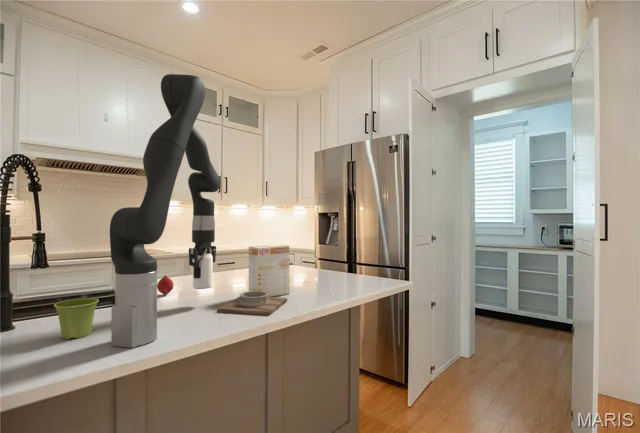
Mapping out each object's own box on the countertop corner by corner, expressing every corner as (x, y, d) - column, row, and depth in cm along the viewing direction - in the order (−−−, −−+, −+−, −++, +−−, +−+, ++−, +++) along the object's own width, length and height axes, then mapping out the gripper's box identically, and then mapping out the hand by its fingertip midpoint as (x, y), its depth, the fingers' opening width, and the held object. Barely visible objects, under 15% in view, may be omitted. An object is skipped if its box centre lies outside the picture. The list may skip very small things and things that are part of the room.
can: (215, 285, 119) (215, 252, 119) (207, 289, 113) (208, 253, 113) (197, 285, 120) (198, 252, 120) (189, 288, 113) (189, 253, 114)
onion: (153, 296, 129) (153, 275, 129) (164, 293, 135) (164, 273, 135) (166, 297, 127) (166, 276, 127) (176, 294, 133) (176, 274, 133)
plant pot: (83, 327, 93) (83, 296, 93) (106, 331, 89) (106, 299, 89) (45, 339, 84) (45, 304, 84) (69, 344, 81) (69, 308, 81)
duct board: (269, 315, 104) (269, 302, 104) (217, 312, 108) (217, 299, 108) (287, 301, 122) (287, 289, 122) (241, 298, 125) (241, 287, 125)
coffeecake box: (281, 290, 139) (281, 244, 139) (290, 294, 133) (290, 245, 133) (247, 295, 130) (247, 246, 130) (255, 299, 124) (255, 247, 124)
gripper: (202, 229, 109) (201, 280, 108) (223, 228, 123) (222, 274, 123) (181, 229, 110) (180, 279, 110) (204, 228, 124) (204, 273, 124)
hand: (202, 276), depth 116 cm, fingers closed on can, 6 cm apart
